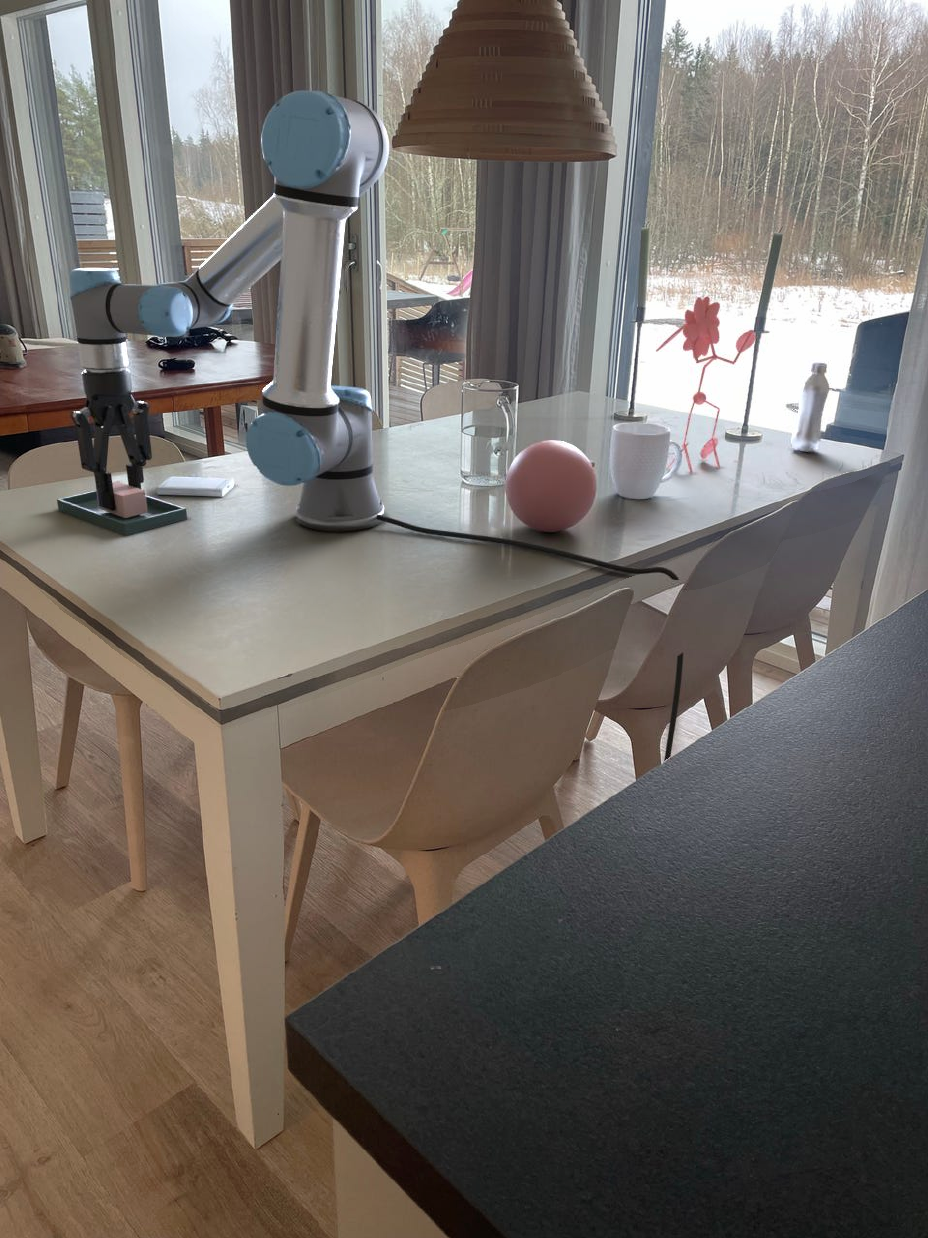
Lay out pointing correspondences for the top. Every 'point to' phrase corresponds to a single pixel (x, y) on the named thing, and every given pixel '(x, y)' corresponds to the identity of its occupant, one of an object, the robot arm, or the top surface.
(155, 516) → the tray
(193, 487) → the hard drive
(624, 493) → the mug
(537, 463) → the balloon
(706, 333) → the figurine
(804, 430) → the plastic bottle
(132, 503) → the eraser
